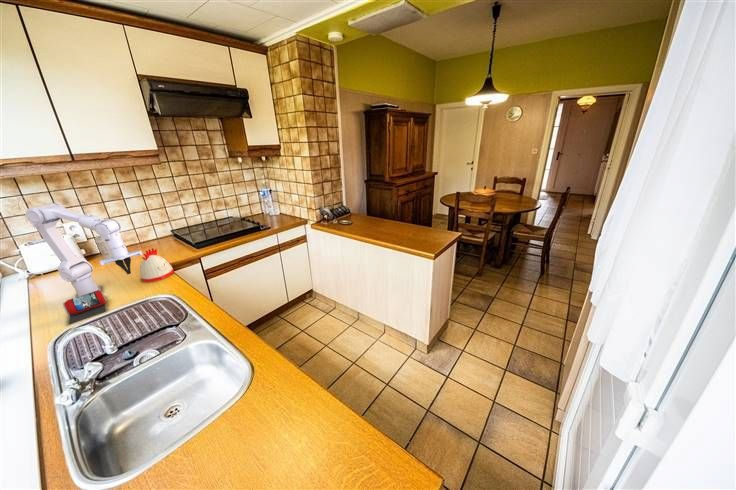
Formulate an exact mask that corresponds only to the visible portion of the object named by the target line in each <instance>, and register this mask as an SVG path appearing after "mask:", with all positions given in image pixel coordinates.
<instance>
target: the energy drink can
mask: <svg viewBox="0 0 736 490" xmlns="http://www.w3.org/2000/svg"><path fill="white" fill-rule="evenodd" d="M94 239H95V240H94V242H95V244H96V246H97V248H98V250H99V252H100V254H101V255H102V258H103V259H106V258H109V257H112V255H111V253H110V251H109V249H108V247H107V245H106V243H105V241H104V240H103V239H102V238H101V236H100V235H99V236H96V237H95V238H94Z"/></svg>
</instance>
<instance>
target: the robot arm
mask: <svg viewBox="0 0 736 490" xmlns="http://www.w3.org/2000/svg"><path fill="white" fill-rule="evenodd" d="M24 216H25V217H26V219H27V220H28V221H29V222H30V223H29V224H31V226H32V227H33V228H35V229H36V230H37V231H38V233H39V234H40V235H41V236H42V239H43V240H44V241H45V242H46V243H47V245H48V246H49V248H50V249H51V251H53V253H54V254H55V256H56V257H57V258H58V260H59V261H60V263H59V265H58V267H56V269H57V271H58V272H59V276H60V278H61V279H62V280H64V281H66V282H68V283H70V285H72V287H73V289H74V291H75V293H76V294H77V297H79V296H82V295H85V294H88V293H91V292H94V291H98V290H100V291H101V285H98V284H97V283H96V282H95V279H94V277H93V276H92V275H93V271H94V266H93V264H91V262H89V261H88V260H87V259H86V258H84V257H80V256H78V255H77V254H76V253H75V252H74V251H73V249H72V247H71V246H70V245H69V243H68V242H67V240H66V239H65V238H64V237H63V235H62V234H61V232H60V231H59V229H58V228H57V224H58V222H59V221H60V220H62V219H63V220H67V221H70V222H74V223H78V225H79V226H80V227H82V228H85V229H88V230H91V231H94V232H95V233H96V234H97V235H99V236H101V238H102V239H103V240H104V241H105V243H106V245H107V247H108V249H109V251H110V253H111V255H112V257H109V258H106V259H104V258H103V259H100V260H99V264H100V266H101V267H102V266H105V265H108V264H112V263H115V265H117V266H118V267H119V268H120V269H122V270H123V271H124V272H125V273H126V274H127V275H131V274H132V271H131V262H132V259H131V258H134V257H138V256H144V253H143V252H142V250H141V249H139V250H134V251H128V248H127V246H126V244H125V241H124V240H123V237H122V235H121V233H120V230H121V228H122V226H121V224H120V222H118V221H117V220H116V219H113V218H108V219H107V218H106V219H105V218H102V217H99V216H95V215H93V214H91V213H87V214H81V213H78V212H76V211H73V210H71V209H68V208H66V207H65V206H64V205H63V204H60V203H58V202H52V203H48V204H43V205H39V206H35V207H29V208H27V209H26V211H25V214H24Z"/></svg>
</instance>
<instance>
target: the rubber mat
mask: <svg viewBox="0 0 736 490" xmlns="http://www.w3.org/2000/svg"><path fill="white" fill-rule="evenodd" d="M102 313H106V303H105V304H103V305H101V306H98V307H95V308H92V309H89V310H86V311H84V312H81V313H78V314H70V315H69V318H68V325H71V324H72V325H73V324H74V323H77V322H80V321H83V320H87V319H88V318H92V317H94V316H98V315H100V314H102Z"/></svg>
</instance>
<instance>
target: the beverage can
mask: <svg viewBox="0 0 736 490" xmlns="http://www.w3.org/2000/svg"><path fill="white" fill-rule="evenodd" d="M107 301H108V300H107V297H106V295H105V294H104V292H103V291H102V290H101V289H100V290H98V291H94V292H91V293H88V294H85V295H82V296H79V297H78V296H76V297H73V298H69V299H67V300H66V301H64V302H63V303H62V306H63V309H64V311H65V312H66V313H67V315H69V316H70V314H78V313H81V312H84V311H86V310H89V309H92V308H95V307H98V306H101V305H103V304H105V305H106V303H107Z"/></svg>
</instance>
